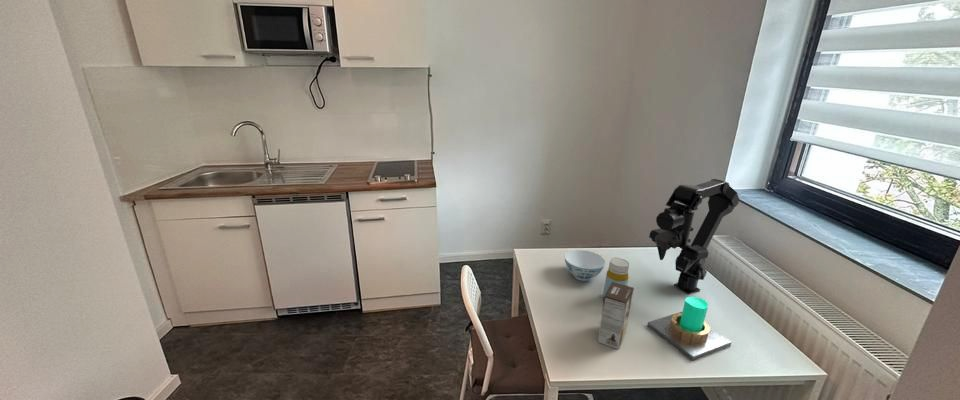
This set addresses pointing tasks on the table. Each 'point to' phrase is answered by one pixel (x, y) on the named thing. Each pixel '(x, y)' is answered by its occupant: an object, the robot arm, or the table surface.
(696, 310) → the candle
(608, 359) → the table surface
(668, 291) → the table surface
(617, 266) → the bottle
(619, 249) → the table surface
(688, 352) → the square plate with hole
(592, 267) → the chinaware
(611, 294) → the coffee box
